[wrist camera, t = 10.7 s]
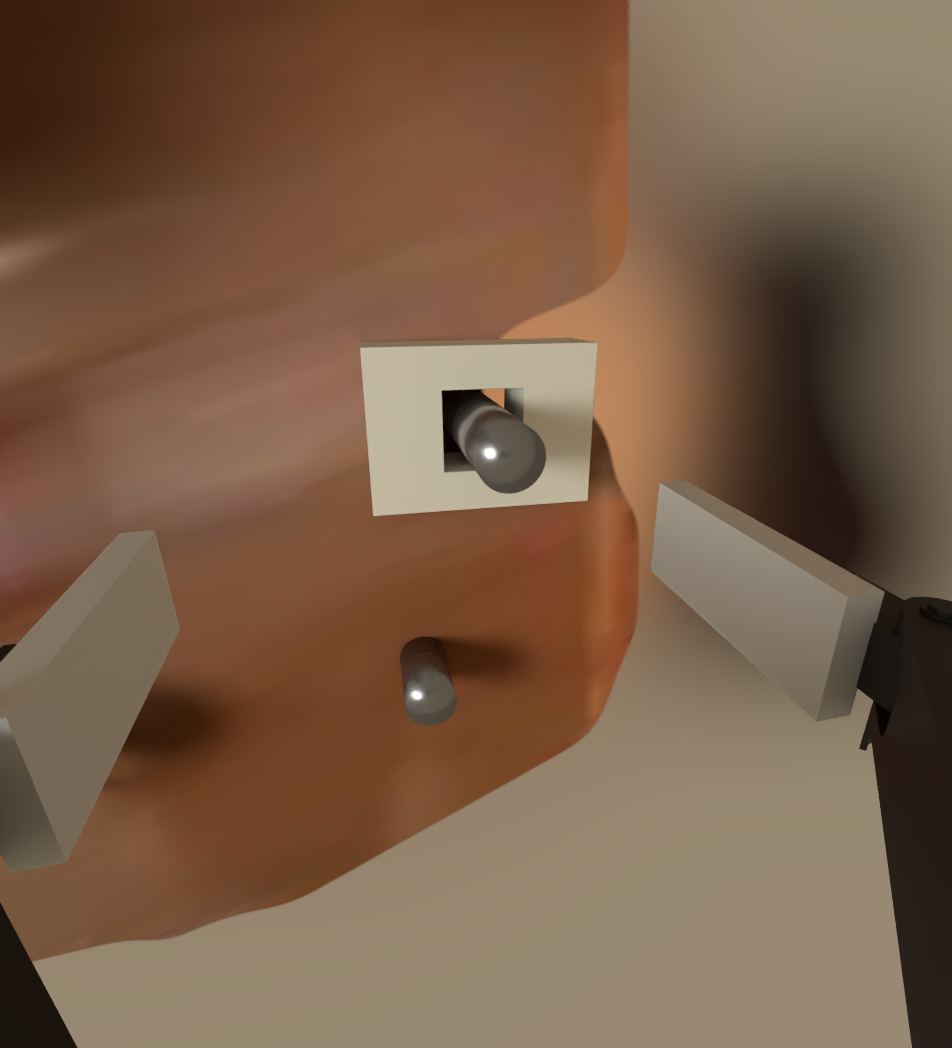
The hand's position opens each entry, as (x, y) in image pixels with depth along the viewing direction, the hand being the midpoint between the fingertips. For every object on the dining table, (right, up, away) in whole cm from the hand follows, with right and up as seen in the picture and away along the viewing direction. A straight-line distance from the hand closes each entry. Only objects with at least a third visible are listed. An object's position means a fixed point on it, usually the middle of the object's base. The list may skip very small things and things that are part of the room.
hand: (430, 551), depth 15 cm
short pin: (-3, -10, +31) cm, 32 cm away
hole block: (+1, +8, +24) cm, 26 cm away
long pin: (+1, +8, +24) cm, 26 cm away
